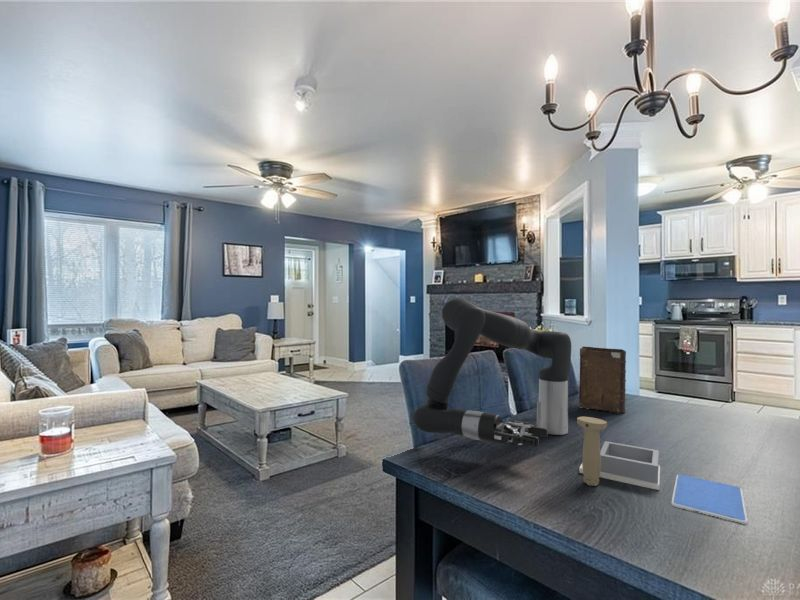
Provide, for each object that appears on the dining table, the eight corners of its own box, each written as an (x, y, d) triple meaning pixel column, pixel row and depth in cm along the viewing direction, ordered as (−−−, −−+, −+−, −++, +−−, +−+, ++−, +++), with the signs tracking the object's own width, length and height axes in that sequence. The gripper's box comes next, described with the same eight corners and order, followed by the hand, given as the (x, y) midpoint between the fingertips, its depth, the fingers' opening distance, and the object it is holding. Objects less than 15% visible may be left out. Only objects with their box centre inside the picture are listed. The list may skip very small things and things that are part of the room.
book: (626, 411, 163) (627, 349, 163) (624, 415, 157) (624, 350, 157) (581, 405, 173) (582, 346, 173) (577, 408, 167) (578, 347, 167)
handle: (600, 491, 93) (600, 425, 93) (573, 481, 98) (573, 418, 98) (609, 485, 96) (610, 421, 96) (582, 476, 101) (583, 415, 101)
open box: (579, 472, 103) (579, 451, 103) (588, 456, 114) (588, 437, 114) (659, 490, 94) (659, 467, 94) (660, 470, 105) (660, 450, 105)
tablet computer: (748, 528, 79) (748, 522, 79) (670, 508, 87) (670, 502, 87) (742, 492, 94) (742, 486, 94) (676, 478, 102) (676, 472, 102)
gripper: (471, 418, 106) (535, 429, 97) (491, 407, 118) (550, 416, 109) (471, 447, 106) (535, 461, 97) (491, 433, 118) (549, 444, 109)
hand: (543, 437), depth 103 cm, fingers open, 8 cm apart
